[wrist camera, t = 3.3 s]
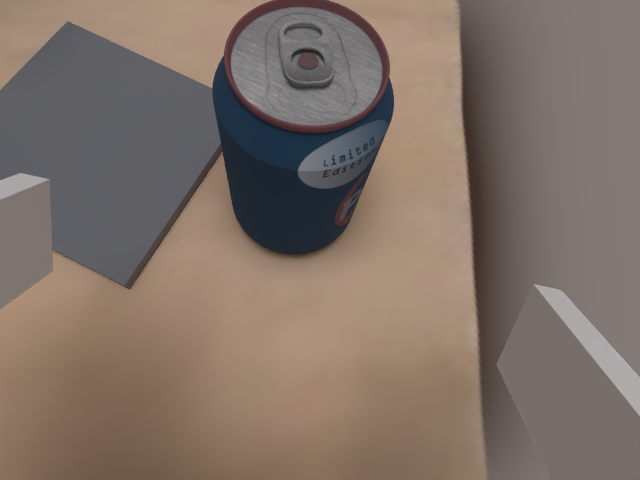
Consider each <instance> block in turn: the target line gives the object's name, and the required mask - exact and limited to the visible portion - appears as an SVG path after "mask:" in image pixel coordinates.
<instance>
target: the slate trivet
mask: <svg viewBox="0 0 640 480" xmlns="http://www.w3.org/2000/svg"><path fill="white" fill-rule="evenodd" d="M212 90H213V89H212V88H210V87H208V86H206V85H203V84H201V83H199V82H197V81H195V80H193V79H191V78H188V77H186V76H184V75H182V74H180V73H178V72H176V71H173V70H171V69H169V68H167V67H165V66H163V65H161V64H158V63H156V62H154V61H152V60H150V59H148V58H145V57H143V56H141V55H139V54H137V53H135V52H133V51H130V50H128V49H126V48H124V47H122V46H120V45H118V44H115V43H113V42H111V41H109V40H107V39H105V38H103V37H100V36H98V35H96V34H94V33H92V32H90V31H88V30H85V29H83V28H81V27H79V26H77V25H75V24H72V23H70V22H68V21H67V23H66V24H65V25H64V26H63V27H62V28H61V29H60V30H59V31H58V32H57V33H56V34H55V35H54V36H53V37H52V38H51V39H50V40H49V41H48V42H47V43H46V44H45V45H44V46H43V47H42V48H41V49H40V50H39V51H38V52H37V53H36V54H35V55H34V56H33V57H32V58H31V59H30V60H29V61H28V62H27V63H26V65H25V66H24V67H23V68H22V69H21V70H20V71H19V72H18V73H17V74H16V75H15V76H14V77H13V78H12V79H11V80H10V81H9V82H8V83H7V84H6V85H5V86H4V87H3V88H2V89H1V90H0V180H2V179H5V178H8V177H11V176H13V175H16V174H19V173H23V174H28V175H32V176H37V177H42V178H46V179H50V203H51V230H52V250H53V251H55V252H57V253H59V254H61V255H63V256H65V257H67V258H69V259H71V260H73V261H75V262H77V263H79V264H81V265H83V266H85V267H87V268H89V269H91V270H93V271H95V272H97V273H99V274H101V275H103V276H105V277H107V278H109V279H111V280H113V281H115V282H117V283H118V284H120V285H122V286H124V287H126V288H128V289H130V287H131V286H132V284H133V283H134V281H135V280H136V278H137V277H138V275H139V274H140V273H141V271H142V270H143V268H144V267H145V265H146V264H147V262H148V261H149V259H150V258H151V256H152V255H153V253H154V252H155V250H156V249H157V247H158V246H159V244H160V243H161V241H162V240H163V238H164V237H165V235H166V234H167V232H168V231H169V229H170V228H171V226H172V225H173V223H174V222H175V220H176V219H177V217H178V216H179V214H180V213H181V211H182V210H183V208H184V207H185V205H186V204H187V202H188V201H189V199H190V198H191V196H192V195H193V194H194V192H195V191H196V189H197V188H198V186H199V185H200V183H201V182H202V180H203V179H204V177H205V176H206V174H207V173H208V171H209V170H210V168H211V167H212V165H213V164H214V162H215V161H216V159H217V158H218V156H219V155H220V153H221V152H222V146H221V141H220V135H219V130H218V125H217V120H216V114H215V109H214V104H213V93H212Z"/></svg>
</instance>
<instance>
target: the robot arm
mask: <svg viewBox="0 0 640 480" xmlns="http://www.w3.org/2000/svg"><path fill="white" fill-rule="evenodd" d="M52 271H53V257H52V230H51V203H50V179H46V178H42V177H37V176H32V175H28V174H23V173H19V174H16V175H13V176H11V177H8V178H5V179H2V180H0V309H2V308H3V307H4V306H6V305H7V304H8V303H10V302H11V301H12V300H14V299H15V298H17V297H18V296H19V295H21V294H22V293H23V292H25V291H26V290H28V289H29V288H30V287H32V286H33V285H34V284H36V283H37V282H39V281H40V280H41V279H43V278H44V277H45V276H47V275H48V274H49V273H51V272H52ZM497 367H498V369H499V371H500V373H501V375H502V377H503V379H504V381H505V383H506V385H507V387H508V390H509V391H510V394H511V396H512V398H513V400H514V402H515V405H516V407H517V409H518V411H519V413H520V415H521V417H522V419H523V421H524V423H525V426H526V428H527V429H528V432H529V434H530V436H531V438H532V440H533V442H534V444H535V447H536V449H537V451H538V453H539V455H540V457H541V459H542V461H543V463H544V465H545V467H546V470H547V472H548V474H549V476H550V478H551V480H640V377H639V376H638V375H637V374H636V373H635V372H634V371H633V370H632V368H631V367H630V366H629V365H628V364H627V363H626V362H625V361H624V360H623V358H622V357H621V356H620V355H619V354H618V353H617V352H616V351H615V350H614V348H613V347H612V346H611V345H610V344H609V343H608V342H607V341H606V340H605V338H604V337H603V336H602V335H601V334H600V333H599V332H598V331H597V330H596V328H595V327H594V326H593V325H592V324H591V323H590V322H589V321H588V320H587V318H586V317H585V316H584V315H583V314H582V313H581V312H580V311H579V310H578V308H577V307H576V306H575V305H574V304H573V303H572V302H571V301H570V300H569V298H568V297H567V296H566V295H565V294H564V293H563V292H562V291H561V290H558V289H553V288H549V287H544V286H540V285H535V284H534V285H533V287H532V289H531V291H530V293H529V296H528V298H527V300H526V302H525V304H524V306H523V308H522V311H521V313H520V315H519V317H518V319H517V322H516V324H515V326H514V328H513V330H512V332H511V335H510V337H509V339H508V341H507V343H506V346H505V348H504V350H503V352H502V354H501V356H500V359H499V361H498V363H497Z"/></svg>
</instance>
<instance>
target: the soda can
mask: <svg viewBox="0 0 640 480" xmlns="http://www.w3.org/2000/svg"><path fill="white" fill-rule="evenodd" d="M389 74H390V63H389V57H388V53H387V50H386V48H385V45H384V43H383V41H382V39H381V38H380V36H379V35H378V33H377V32H376V31H375V29H374V28H373V27H372V26H371V25H370V24H369V23H368V22H367V21H366V20H365V19H364V18H362V17H361V16H360V15H358V14H357V13H355V12H354V11H352V10H350V9H348V8H346V7H344V6H342V5H340V4H337V3H335V2H332V1H328V0H273V1H269V2H267V3H264V4H262V5H260V6H258V7H256V8H254V9H252V10H251V11H249V12H248V13H247V14H246V15H244V16H243V17H242V18H241V19H240V20H239V21H238V22H237V24H236V25H235V26H234V28H233V29H232V31H231V33H230V35H229V37H228V39H227V42H226V46H225V51H224V56H223V58H222V59H221V61H220V63H219V65H218V68H217V70H216V73H215V76H214V81H213V90H212V93H213V104H214V109H215V114H216V120H217V125H218V130H219V135H220V141H221V146H222V151H223V157H224V162H225V167H226V173H227V178H228V183H229V189H230V194H231V199H232V205H233V209H234V213H235V215H236V218H237V220H238V222H239V223H240V225H241V227H242V228H243V229H244V231H245V232H246V233H247V234H248V235H249V236H250V237H251V238H252V239H254V240H255V241H256V242H258V243H259V244H261V245H263V246H265V247H267V248H269V249H272V250H275V251H278V252H282V253H290V254H299V253H307V252H312V251H315V250H318V249H320V248H323V247H325V246H326V245H328V244H330V243H331V242H333V241H334V240H335V239H336V238H337V237H338V236H340V234H341V233H342V232H343V231H344V230H345V228H346V227H347V225H348V223H349V221H350V219H351V217H352V214H353V212H354V209H355V207H356V205H357V202H358V200H359V197H360V195H361V192H362V190H363V188H364V185H365V183H366V180H367V178H368V175H369V173H370V171H371V168H372V166H373V163H374V161H375V158H376V156H377V154H378V151H379V149H380V146H381V144H382V141H383V139H384V137H385V134H386V132H387V129H388V127H389V124H390V122H391V119H392V115H393V109H394V95H393V89H392V85H391V81H390V78H389Z"/></svg>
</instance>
